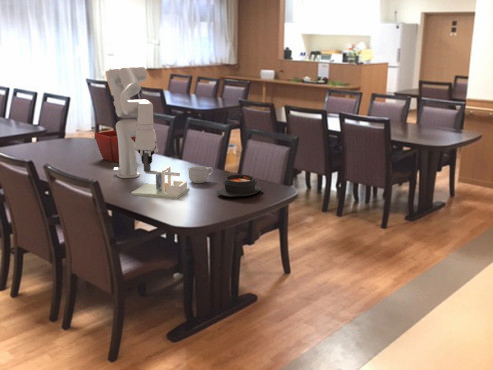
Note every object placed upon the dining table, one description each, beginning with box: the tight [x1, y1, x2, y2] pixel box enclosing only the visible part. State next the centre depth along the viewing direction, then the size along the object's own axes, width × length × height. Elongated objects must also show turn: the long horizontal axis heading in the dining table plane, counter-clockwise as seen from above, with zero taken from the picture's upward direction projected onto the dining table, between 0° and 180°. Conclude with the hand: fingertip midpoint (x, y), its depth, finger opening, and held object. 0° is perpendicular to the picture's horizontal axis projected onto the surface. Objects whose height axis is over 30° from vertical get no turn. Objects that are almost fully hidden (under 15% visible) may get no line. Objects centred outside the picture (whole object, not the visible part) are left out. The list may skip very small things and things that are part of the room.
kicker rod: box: [143, 151, 181, 190], centre depth 285 cm, size 18×5×18 cm, turn 76°
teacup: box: [187, 165, 214, 184], centre depth 307 cm, size 14×11×8 cm
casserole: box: [216, 174, 263, 198], centre depth 286 cm, size 25×19×8 cm
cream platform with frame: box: [131, 166, 190, 200], centre depth 286 cm, size 24×18×13 cm
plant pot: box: [94, 129, 136, 163], centre depth 355 cm, size 19×19×17 cm
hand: (146, 162), depth 286 cm, fingers closed on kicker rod, 2 cm apart
